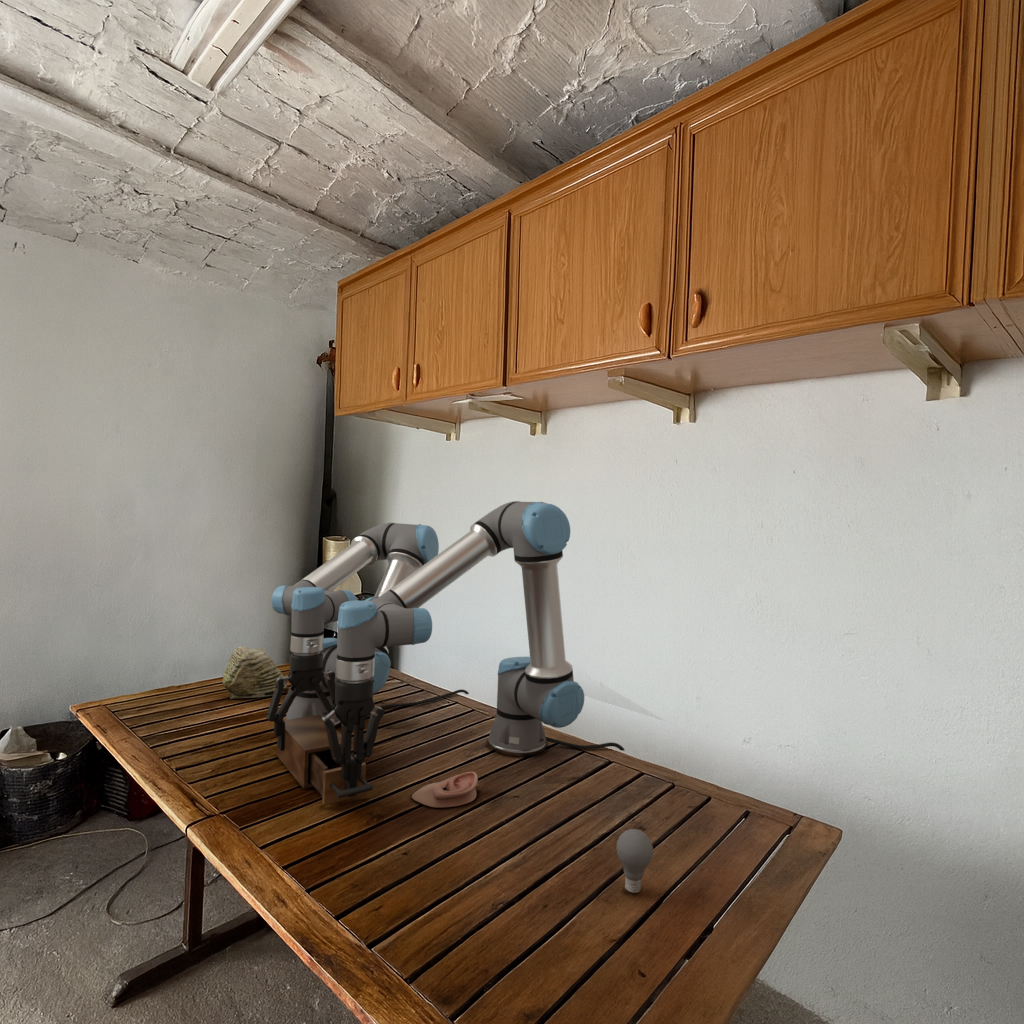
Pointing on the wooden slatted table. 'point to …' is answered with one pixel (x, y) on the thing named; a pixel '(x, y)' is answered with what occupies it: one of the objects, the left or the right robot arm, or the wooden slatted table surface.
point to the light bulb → (634, 857)
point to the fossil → (250, 674)
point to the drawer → (333, 778)
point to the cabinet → (303, 745)
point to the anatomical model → (449, 791)
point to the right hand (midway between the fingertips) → (350, 793)
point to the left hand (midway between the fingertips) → (303, 744)
